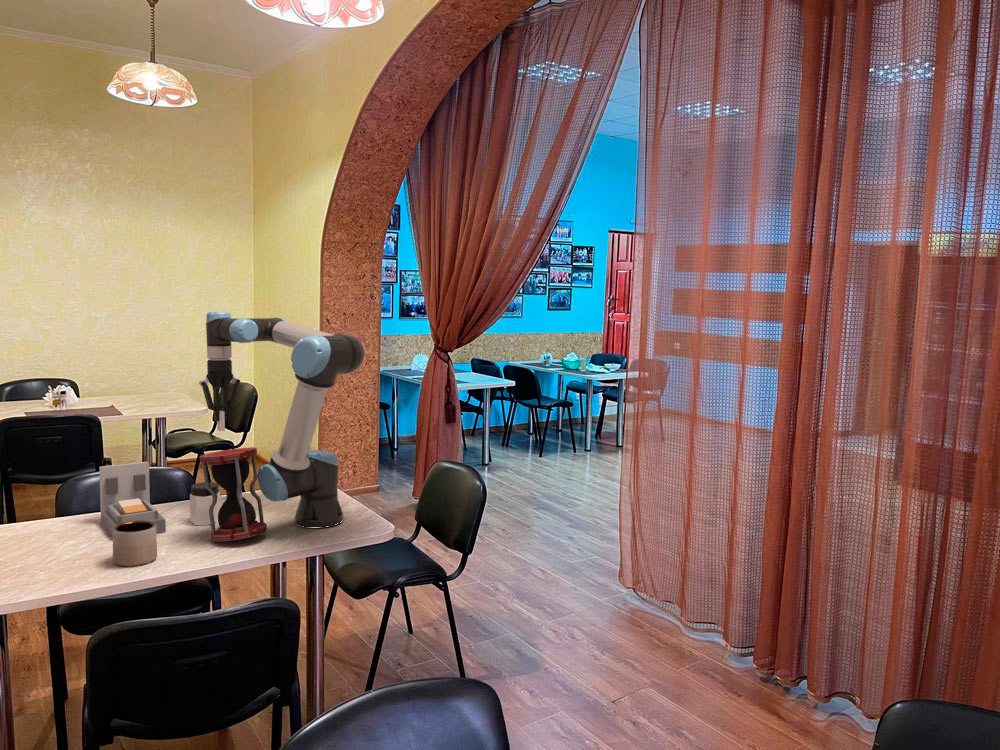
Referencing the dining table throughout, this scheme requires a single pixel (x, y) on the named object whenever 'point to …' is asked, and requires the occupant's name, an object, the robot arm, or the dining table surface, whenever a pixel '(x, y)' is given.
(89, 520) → the dining table surface
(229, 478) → the hourglass
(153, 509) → the grey fixture stand
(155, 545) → the planter
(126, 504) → the rocker switch
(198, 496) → the jar
